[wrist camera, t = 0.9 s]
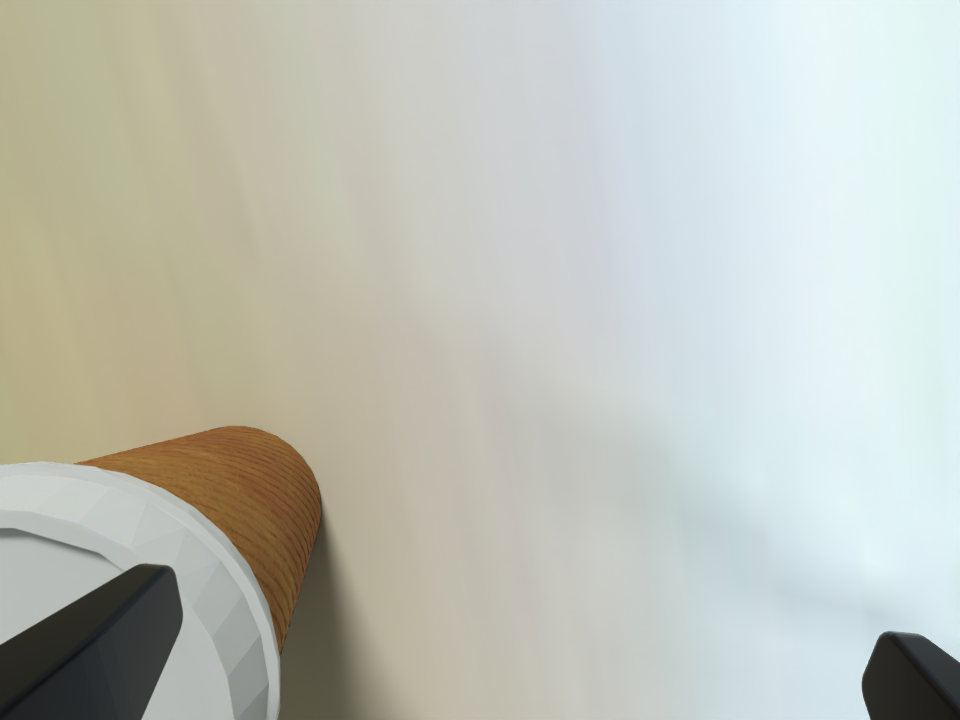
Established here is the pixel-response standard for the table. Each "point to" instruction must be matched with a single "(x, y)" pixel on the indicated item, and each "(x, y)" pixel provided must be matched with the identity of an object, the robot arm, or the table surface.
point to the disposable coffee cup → (173, 554)
